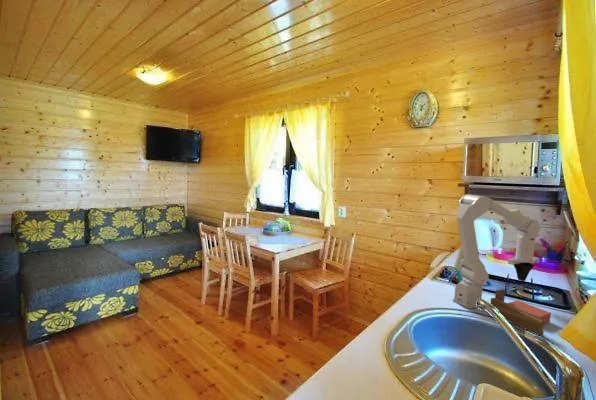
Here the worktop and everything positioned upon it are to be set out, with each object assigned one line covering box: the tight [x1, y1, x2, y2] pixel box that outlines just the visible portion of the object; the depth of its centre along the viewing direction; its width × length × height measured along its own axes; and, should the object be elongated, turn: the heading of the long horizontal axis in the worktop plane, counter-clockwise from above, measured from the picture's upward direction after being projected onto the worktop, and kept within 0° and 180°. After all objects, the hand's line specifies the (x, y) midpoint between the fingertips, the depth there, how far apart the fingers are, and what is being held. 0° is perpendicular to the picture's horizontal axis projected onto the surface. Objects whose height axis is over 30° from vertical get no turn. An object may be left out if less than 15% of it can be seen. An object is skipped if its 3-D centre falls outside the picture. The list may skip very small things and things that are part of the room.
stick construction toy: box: [449, 268, 463, 283], centre depth 146 cm, size 12×7×8 cm
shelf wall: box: [489, 297, 546, 337], centre depth 107 cm, size 2×18×5 cm, turn 17°
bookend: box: [494, 288, 506, 302], centre depth 116 cm, size 4×1×8 cm, turn 107°
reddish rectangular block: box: [506, 299, 552, 326], centre depth 111 cm, size 8×11×4 cm
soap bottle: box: [453, 245, 464, 272], centre depth 161 cm, size 12×12×20 cm
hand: (521, 280), depth 123 cm, fingers closed
